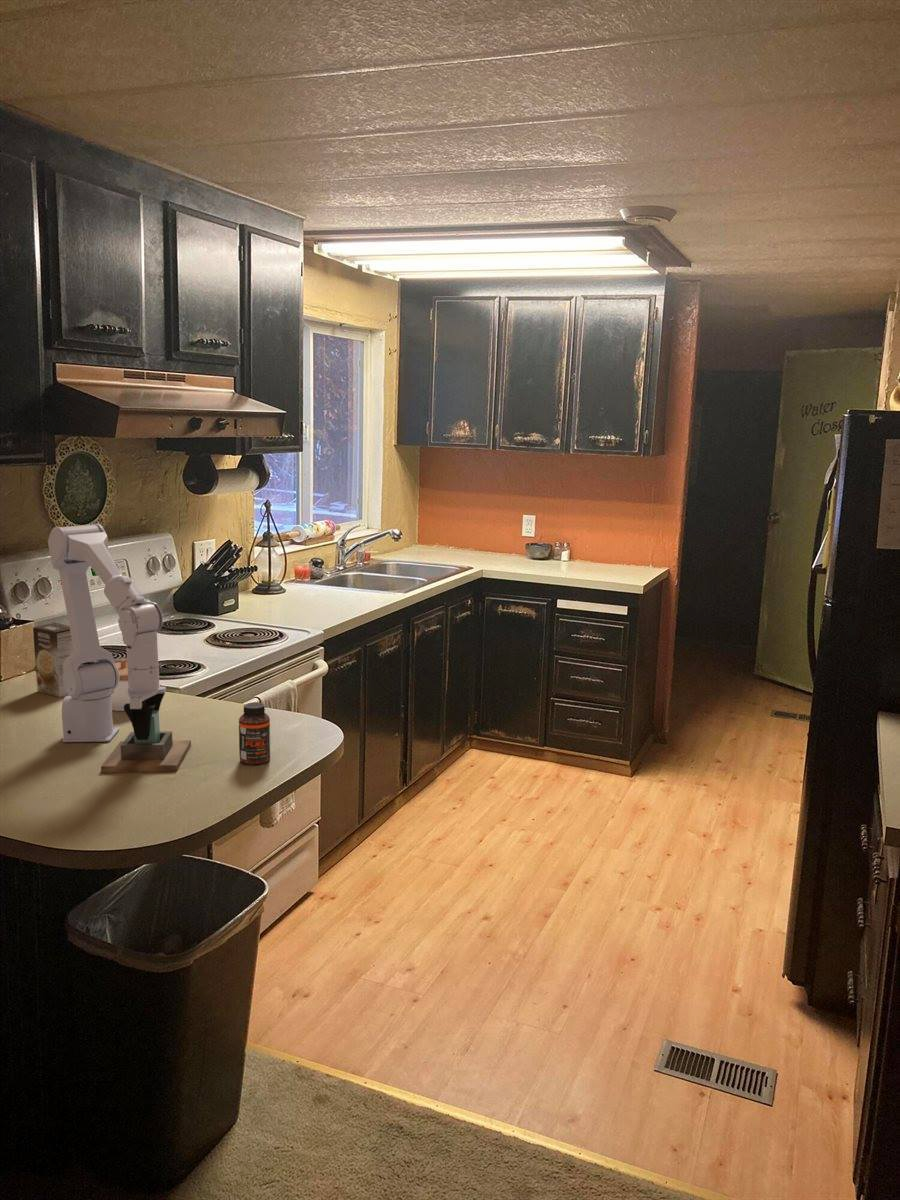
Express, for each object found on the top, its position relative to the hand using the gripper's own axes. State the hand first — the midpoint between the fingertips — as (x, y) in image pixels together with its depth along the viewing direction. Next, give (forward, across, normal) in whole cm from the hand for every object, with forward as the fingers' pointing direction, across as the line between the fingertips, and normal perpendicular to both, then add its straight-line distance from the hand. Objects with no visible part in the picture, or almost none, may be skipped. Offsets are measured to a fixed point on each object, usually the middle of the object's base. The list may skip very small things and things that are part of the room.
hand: (146, 733), depth 187 cm
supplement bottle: (+5, -2, -21) cm, 22 cm away
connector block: (+4, 0, 0) cm, 4 cm away
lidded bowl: (+5, +35, +13) cm, 38 cm away
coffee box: (+5, +48, +32) cm, 58 cm away
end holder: (+5, 0, 0) cm, 5 cm away
